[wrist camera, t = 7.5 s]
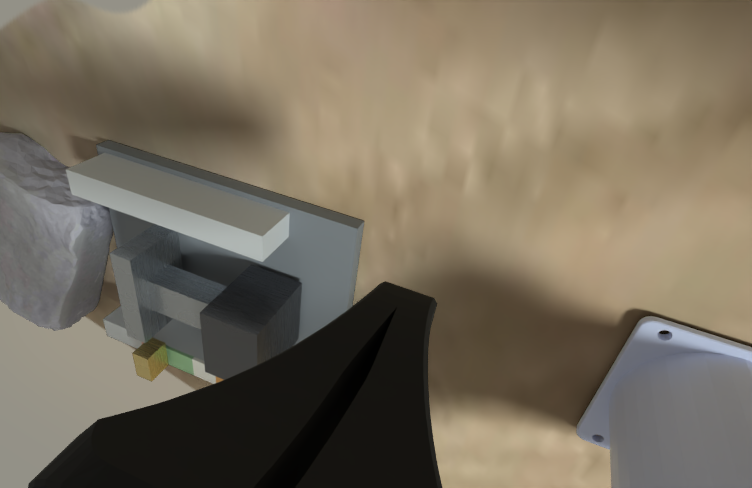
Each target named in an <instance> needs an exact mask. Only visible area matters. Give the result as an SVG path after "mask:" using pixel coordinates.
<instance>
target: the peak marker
mask: <svg viewBox="0 0 752 488" xmlns="http://www.w3.org/2000/svg"><path fill="white" fill-rule="evenodd" d="M132 354H133V359H134V363H135V368H136V372H137V375H138V376H140V377H143V378H145V379H147V380H149V381H153V380H154V378H156V377H157V376H158V375H159V374H160V373H161V372H162V371H163V370H164V369H165V368H166V367H167V366H168V365H169V363H168V356H167V350H166V344H165V342H162V341H160V340H157V339H155V338H153V337H152V338H151V339H150V340H149V341H148V342H146V343H143V344H142V345H141V346H140V347H139V348H138V349H136V350H135V351H134V352H133V353H132Z"/></svg>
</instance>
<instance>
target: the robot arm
mask: <svg viewBox="0 0 752 488" xmlns="http://www.w3.org/2000/svg"><path fill="white" fill-rule="evenodd" d="M436 306H437V303H436V301H435V299H434V298H432V297H429V296H426V295H423V294H420V293H418V292H415V291H412V290H409V289H406V288H403V287H400V286H397V285H394V284H391V283H388V282H383V283H381V284H379V285H378V286H377V287H376V288H375V289H374V290H372V291H371V292H370V293H369V294H368V295H366V296H365V297H364V298H363V299H361V300H360V301H359V302H357V303H356V304H355V305H354V306H352V307H351V308H350V309H348V310H347V311H346V312H344V313H343V314H341V315H340V316H339V317H337V318H336V319H334V320H333V321H331V322H330V323H329V324H327V325H326V326H324V327H323V328H321V329H320V330H318V331H317V332H315V333H313V334H312V335H310V336H308V337H307V338H305V339H304V340H302V341H300V342H299V343H297V344H296V345H294V346H292V347H290V348H289V349H287V350H285V351H283V352H282V353H280V354H278V355H276V356H274V357H272V358H270V359H268V360H266V361H264V362H262V363H260V364H258V365H256V366H254V367H252V368H250V369H247V370H245V371H243V372H241V373H239V374H236V375H234V376H232V377H230V378H227V379H225V380H223V381H220V382H218V383H215V384H213V385H210V386H207V387H204V388H202V389H199V390H196V391H193V392H190V393H188V394H185V395H182V396H179V397H176V398H174V399H171V400H168V401H165V402H161V403H158V404H155V405H151V406H147V407H144V408H140V409H136V410H133V411H129V412H125V413H121V414H118V415H114V416H111V417H106V418H102V419H99V420H97V421H96V422H95V423H94V424H93V425H91V426H90V427H89V428H88V429H86V430H85V431H84V432H83V433H82V434H80V435H79V436H78V437H77V438H76V439H75V440H74V441H73V442H71V443H70V444H69V445H68V446H67V447H66V448H65V449H64V450H63V451H62V452H61V453H60V454H59V455H58V456H57V457H56V458H55V459H54V460H53V461H52V462H51V463H50V464H49V465H48V466H47V467H45V468H44V469H43V470H42V471H41V472H40V473H39V474H38V475H37V476H36V477H35V478H34V479H33V480H32V481H31V482H30V483H29V487H28V488H442V484H441V480H440V475H439V470H438V466H437V460H436V454H435V447H434V441H433V434H432V426H431V417H430V407H429V391H428V345H429V334H430V328H431V324H432V321H433V317H434V313H435V309H436ZM662 330H667V331H669V333H668V334H660V333H659V332H660V331H662ZM576 432H577V435H578V436H579V437H580V438H581V439H583V440H586V441H588V442H591V443H593V444H596V445H599V446H601V447H604V448H607V449H609V450H610V464H611V488H752V347H750V346H746V345H743V344H740V343H737V342H734V341H731V340H727V339H724V338H721V337H718V336H715V335H712V334H709V333H705V332H702V331H699V330H696V329H693V328H690V327H687V326H683V325H680V324H677V323H674V322H671V321H668V320H665V319H661V318H658V317H654V316H647V317H644V318H642V319H640V320H639V322H638V323H637V325H636V326H635V328H634V330H633V331H632V333H631V335H630V337H629V338H628V340H627V342H626V343H625V345H624V347H623V348H622V350H621V352H620V353H619V355H618V357H617V358H616V360H615V362H614V364H613V365H612V367H611V369H610V370H609V372H608V374H607V375H606V377H605V379H604V380H603V382H602V384H601V385H600V387H599V389H598V391H597V392H596V394H595V396H594V397H593V399H592V401H591V402H590V404H589V406H588V407H587V409H586V411H585V412H584V414H583V416H582V418H581V419H580V421H579V423H578V424H577V430H576ZM598 435H601V436H598Z"/></svg>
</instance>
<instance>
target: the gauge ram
mask: <svg viewBox="0 0 752 488" xmlns="http://www.w3.org/2000/svg"><path fill="white" fill-rule="evenodd" d="M110 258H111V262H112V267H113V271H114V276H115V281H116V285H117V290H118V294H119V299H120V304H121V308H122V313H123V317H124V322H125V327H126V331H127V336H129V337H132V338H134V339H136V340H139V341H141V342H143V343H146V342H148V341H149V340H150V339H151V338H152V337H153V336H154V335H155V334H157V333H158V332H159V331H160V330H161V329H162V328H163V327H164V326H165V325H167V324H168V323H169V322H170V321H171V320H172V319H176V320H178V321H181V322H183V323H186V324H188V325H191V326H193V327H195V328H198V329H200V330H201V334H202V344H203V354H204V365H205V372H207V373H209V374H212V375H214V376H216V383H218V382H220V381H223V380H225V379H227V378H230V377H232V376H234V375H236V374H239V373H241V372H243V371H245V370H247V369H250V368H252V367H254V366H256V365H258V364H260V363H262V362H264V361H266V360H268V359H270V358H272V357H274V356H276V355H278V354H280V353H282V352H283V351H285V350H287V349H289V348H290V347H292V346H293V345H294V344H295V343H296V341H297V340H298V339H299V325H300V308H301V292H302V283H301V282H298V281H296V280H293V279H290V278H287V277H284V276H282V275H279V274H276V273H273V272H270V271H268V270H265V269H262V268H259V267H256V266H254V265H250V266H249V267H248V268H247V269H246V270H244V271H243V272H242V273H241V274H240V275H239V276H238V277H237V278H236V279H235V280H234V281H233V282H232V283H231V284H230V285H229V286H225V285H222V284H219V283H217V282H214V281H211V280H209V279H206V278H203V277H201V276H198V275H195V274H193V273H190V272H187V271H185V270H183V268H182V259H181V250H180V242H179V233H178V232H176V231H173V230H171V229H168V228H165V227H162V226H159V225H157V224H154V225H153V226H151V227H150V228H148V229H146V230H145V231H143V232H142V233H140V234H139V235H137V236H136V237H134V238H132V239H131V240H129V241H128V242H126V243H125V244H123V245H122V246H120V247H118V248H117V249H115V250H114V251H112V252H111V253H110Z"/></svg>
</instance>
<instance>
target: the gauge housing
mask: <svg viewBox="0 0 752 488" xmlns="http://www.w3.org/2000/svg"><path fill="white" fill-rule="evenodd" d="M96 147H97V152H98V156H96V157H93V158H91V159H89V160H86V161H84V162H82V163H79V164H77V165H75V166H72V167H70V168H68V169H66V173H67V177H68V181H69V185H70V189H71V193H72V195H75V196H78V197H80V198H83V199H86V200H89V201H92V202H95V203H97V204H100V205H103V206H106V207H109V211H110V216H111V220H112V225H113V230H114V235H115V240H116V245H117V248H118V247H120V246H122V245H123V244H125V243H126V242H128V241H129V240H131V239H132V238H134V237H136V236H137V235H139V234H140V233H142V232H143V231H145V230H146V229H148V228H150V227H151V226H153V225H154V224H157V225H159V226H162V227H165V228H168V229H171V230H173V231H176V232H178V233H179V242H180V250H181V259H182V268H183V270H185V271H187V272H190V273H193V274H195V275H198V276H201V277H203V278H206V279H209V280H211V281H214V282H217V283H219V284H222V285H225V286H229V285H230V284H231V283H232V282H233V281H234V280H235V279H236V278H237V277H238V276H239V275H240V274H241V273H242V272H243V271H244V270H246V269H247V268H248V267H249V266H250V265H254V266H256V267H259V268H262V269H265V270H268V271H270V272H273V273H276V274H279V275H282V276H284V277H287V278H290V279H293V280H296V281H298V282H301V283H302V292H301V308H300V325H299V339H298V340H297V341H296V343H295V344H294V345H296V344H297V343H299V342H300V341H302V340H304V339H305V338H307V337H308V336H310V335H312V334H313V333H315V332H317V331H318V330H320V329H321V328H323V327H324V326H326V325H327V324H329V323H330V322H331V321H333V320H334V319H336V318H337V317H339V316H340V315H341V314H343V313H344V312H346V311H347V310H348V309H350V308H351V307H352V305H353V298H354V291H355V284H356V276H357V269H358V262H359V255H360V248H361V240H362V233H363V226H364V221H363V220H359V219H356V218H353V217H350V216H347V215H344V214H340V213H337V212H334V211H331V210H328V209H325V208H321V207H318V206H315V205H312V204H309V203H306V202H302V201H299V200H296V199H293V198H290V197H287V196H283V195H280V194H277V193H274V192H271V191H268V190H265V189H261V188H258V187H255V186H252V185H249V184H246V183H242V182H239V181H236V180H233V179H230V178H227V177H223V176H220V175H217V174H214V173H211V172H208V171H204V170H201V169H198V168H195V167H192V166H189V165H185V164H182V163H179V162H176V161H173V160H170V159H166V158H163V157H160V156H157V155H154V154H151V153H147V152H144V151H141V150H138V149H135V148H132V147H129V146H125V145H122V144H119V143H116V142H113V141H110V140H107V141H104V142H102V143H99V144H97V145H96ZM103 321H104V325H105V329H106V333H107V336H109V337H111V338H114V339H116V340H118V341H121V342H123V343H125V344H128V345H130V346H132V347H135V348H137V349H138V348H139V347H140V346H141V345H142V344H143V342H141V341H139V340H136V339H134V338H132V337H129V336H127V331H126V327H125V322H124V317H123V313H122V308H121V306H120V307H118V308H117V309H116V310H114V311H113V312H112V313H110V314H109V315H108V316H106V317H105V318H104V319H103ZM153 338H155V339H157V340H160V341H162V342H165V344H166V350H167V356H168V363H169V365H171V366H173V367H175V368H178V369H180V370H182V371H185V372H187V373H189V374H192V375H194V376H196V377H199V378H201V379H203V380H206V381H208V382H210V383H213V384H215V383H216V376H214V375H212V374H209V373H207V372H205V365H204V354H203V344H202V334H201V330H200V329H198V328H195V327H193V326H191V325H188V324H186V323H183V322H181V321H178V320H176V319H172V320H171V321H170V322H169V323H168V324H167V325H165V326H164V327H163V328H162V329H161V330H160V331H159V332H158V333H157V334H155V335H154V336H153ZM294 345H293V346H294Z"/></svg>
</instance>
